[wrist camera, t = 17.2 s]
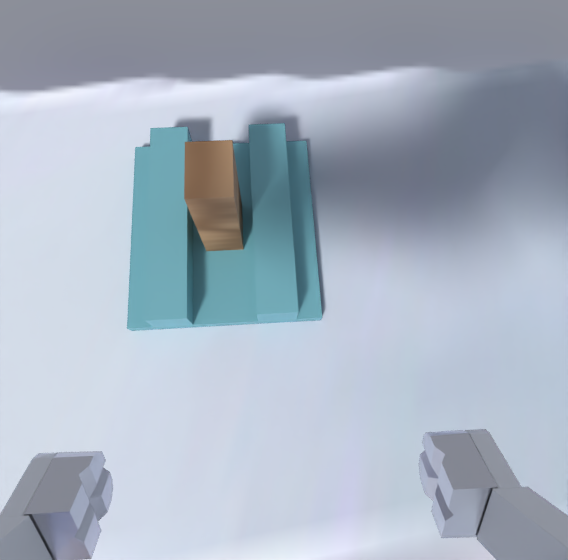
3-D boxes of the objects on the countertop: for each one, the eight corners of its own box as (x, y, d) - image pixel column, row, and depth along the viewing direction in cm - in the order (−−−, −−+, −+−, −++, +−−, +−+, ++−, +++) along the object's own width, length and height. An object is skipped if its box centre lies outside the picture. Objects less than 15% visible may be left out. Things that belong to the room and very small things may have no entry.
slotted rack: (305, 147, 38) (308, 122, 35) (320, 320, 34) (326, 310, 30) (138, 153, 38) (125, 129, 34) (131, 330, 33) (115, 322, 30)
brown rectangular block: (242, 205, 35) (232, 140, 27) (243, 249, 34) (233, 196, 26) (206, 206, 35) (184, 141, 27) (206, 251, 34) (184, 198, 25)
